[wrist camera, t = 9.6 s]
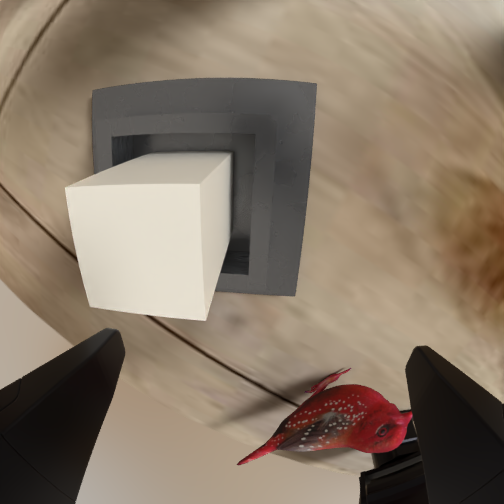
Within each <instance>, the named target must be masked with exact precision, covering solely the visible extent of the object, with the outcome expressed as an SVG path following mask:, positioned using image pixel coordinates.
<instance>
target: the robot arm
mask: <svg viewBox="0 0 504 504" xmlns="http://www.w3.org/2000/svg"><path fill="white" fill-rule="evenodd" d="M124 357H125V348H124V344H123V341H122V337H121V334H120V332H119V330H117V329H112V328H105V329H103V330H102V331H100V332H98V333H97V334H95V335H93V336H91V337H90V338H88V339H86V340H85V341H83V342H81V343H79V344H78V345H76V346H74V347H73V348H71V349H69V350H67V351H66V352H64V353H62V354H61V355H59V356H57V357H56V358H54V359H52V360H50V361H49V362H47V363H45V364H44V365H42V366H40V367H39V368H37V369H35V370H33V371H32V372H30V373H28V374H27V375H25V376H23V377H22V379H21V378H20V379H18V380H16V381H15V382H13V383H11V384H9V385H8V386H6V387H4V388H3V389H1V390H0V504H75V503H76V502H75V501H76V499H77V496H78V493H79V489H80V486H81V483H82V480H83V477H84V474H85V471H86V468H87V465H88V462H89V459H90V457H91V454H92V450H93V448H94V445H95V443H96V440H97V437H98V434H99V432H100V429H101V426H102V424H103V421H104V418H105V416H106V413H107V411H108V408H109V406H110V403H111V401H112V398H113V395H114V392H115V389H116V385H117V381H118V378H119V374H120V371H121V367H122V364H123V361H124ZM405 372H406V378H407V384H408V391H409V397H410V405H411V410H408V411H402V412H400V413H401V414H403V413H408V412H410V411H412V418H411V420H410V422H409V423H408V425H407V432H406V435H405V438H404V440H403V441H402V443H401V444H400V445H399V446H398V447H397V448H395V449H394V450H392V451H388V452H380V453H371V454H372V459H373V464H374V469H372V470H369V471H366V472H365V471H364V472H361V477H359V481H360V498H359V504H504V404H502V402H501V401H499V400H498V399H497V398H496V397H494V396H493V395H492V394H490V393H489V392H488V391H487V390H485V389H484V388H483V387H481V386H480V385H479V384H477V383H476V382H475V381H474V380H472V379H471V378H470V377H468V376H467V375H466V374H464V373H463V372H462V371H460V370H459V369H458V368H457V367H455V366H454V365H453V364H451V363H450V362H449V361H447V360H446V359H445V358H443V357H442V356H441V355H439V354H438V353H437V352H435V351H434V350H432V349H431V348H430V347H428V346H417V347H415V348H414V349H413V352H412V354H411V356H410V358H409V360H408V362H407V365H406V369H405ZM413 421H414V423H413ZM414 424H415V426H414Z"/></svg>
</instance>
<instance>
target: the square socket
mask: <svg viewBox="0 0 504 504" xmlns="http://www.w3.org/2000/svg"><path fill="white" fill-rule="evenodd" d="M316 89H317V84H316V83H308V82H298V81H288V80H274V79H256V78H195V79H176V80H163V81H153V82H143V83H135V84H128V85H121V86H114V87H108V88H102V89H97V90H93V93H92V139H93V161H94V174H97V173H99V172H102V171H104V170H107V169H109V168H112V167H114V166H117V165H119V164H122V163H124V162H127V161H130V160H132V159H135V158H138V157H141V156H143V155H146V154H149V153H152V152H171V151H234V164H233V231H232V235H231V238H230V241H229V244H228V248H227V251H226V254H225V258H224V261H223V264H222V268H221V271H220V274H219V278H218V281H217V284H216V288H215V291H221V292H234V293H248V294H263V295H279V296H295V293H296V286H297V279H298V272H299V265H300V257H301V249H302V241H303V233H304V225H305V216H306V207H307V198H308V188H309V178H310V168H311V157H312V145H313V133H314V120H315V105H316Z"/></svg>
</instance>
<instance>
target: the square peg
mask: <svg viewBox="0 0 504 504" xmlns="http://www.w3.org/2000/svg"><path fill="white" fill-rule="evenodd" d="M233 164H234V151H171V152H152V153H149V154H146V155H143V156H141V157H138V158H135V159H132V160H130V161H127V162H124V163H122V164H119V165H117V166H114V167H112V168H109V169H107V170H104V171H102V172H99V173H97V174H94V175H92V176H90V177H87V178H85V179H83V180H81V181H78V182H76V183H74V184H72V185H69V186H67V187H65V191H66V198H67V205H68V212H69V218H70V224H71V229H72V234H73V240H74V245H75V249H76V254H77V258H78V263H79V267H80V271H81V275H82V279H83V283H84V287H85V291H86V294H87V298H88V301H89V305H90V307H94V308H100V309H107V310H114V311H121V312H129V313H136V314H144V315H153V316H161V317H170V318H180V319H190V320H202V321H206V319H207V315H208V312H209V308H210V305H211V302H212V298H213V295H214V291H215V288H216V284H217V281H218V278H219V274H220V271H221V268H222V264H223V261H224V258H225V254H226V251H227V248H228V244H229V241H230V238H231V235H232V231H233Z"/></svg>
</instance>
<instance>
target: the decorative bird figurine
mask: <svg viewBox="0 0 504 504" xmlns="http://www.w3.org/2000/svg"><path fill="white" fill-rule="evenodd" d="M350 369H351V368H350ZM350 369H348V370H346V371H343V372H341V373H338V374H332V375H330V376H328V377H327V378H326V379H325V380H323V381H321V382H320V383H318V384H316V385H314V386H312V387H311V391H305V392H306V393H312V392H314V391H316V392H315V393H314V394H313V395H312V396H311V397H310V398H308V399H307V400H306V401H305V402H303V403H302V404H301V405H300V406H299V407H298V408H297V409H296V410H295V411H294V412H293V413H292V414H291V415H289V416H288V417H287V418H286V419H284V420H283V422H282V423H281V424H280V426H279V427H278V429H277V430H276V432H275V433H274V434H273V436H272V437H271V438H270V439H269V440H268V441H267V442H266V443H265V444H264V445H262V446H261V447H259V448H258V449H256V450H255V451H254V452H253V453H251V454H249V455H248V456H246V457H245V458H244V459H242V460H241V461H239V463H238V464H237V465H241V464H245V463H247V462H249V461H252V460H254V459H257V458H259V457H261V456H264V455H266V454H268V453H270V452H272V451H274V450H288V451H315V450H323V449H330V448H340V447H350V448H354V449H356V450H359V451H362V452H365V453H380V452H388V451H392V450H394V449H395V448H397V447H398V446H399V445H400V444H401V443H402V441H403V440H404V438H405V435H406V432H407V425H408V423H409V422H410V420H411V418H412V411H410V412H408V413H403V414H401V413H400V411H399V410H398V408H397V407H396V406H395V405H394V404H392V403H389V401H388V400H386V399H385V398H384V397H383V396H382V395H381V394H380V393H379V392H377V391H375V390H373V389H372V388H369V387H366V386H362V385H356V384H355V385H354V384H352V385H339V386H335V387H332V388H329V389H326V390H324V389H325V388H326V387H327V386H328V384H330V383H332V382H334V381H336V380H337V379H338V378H339V376H340V375H342V374H344V373H346V372H348V371H349V370H350ZM315 387H316V388H315ZM313 388H314V389H313Z"/></svg>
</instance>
